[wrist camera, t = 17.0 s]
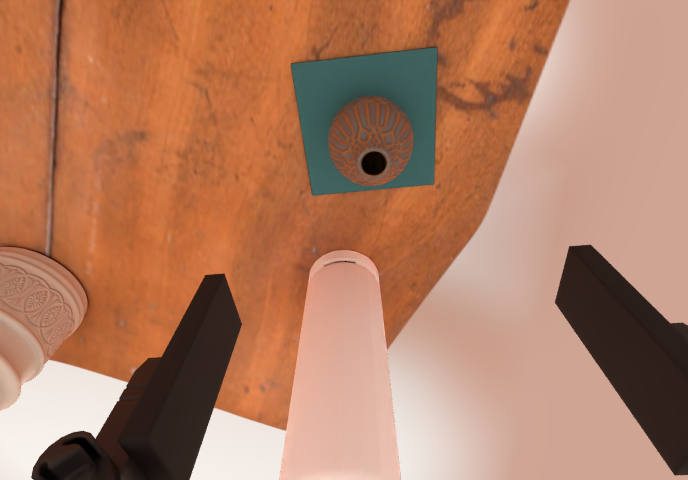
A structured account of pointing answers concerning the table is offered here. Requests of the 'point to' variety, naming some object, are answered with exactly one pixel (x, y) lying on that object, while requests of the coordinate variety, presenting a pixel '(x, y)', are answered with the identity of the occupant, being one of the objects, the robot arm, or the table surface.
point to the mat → (367, 80)
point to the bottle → (341, 379)
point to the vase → (370, 140)
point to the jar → (33, 315)
